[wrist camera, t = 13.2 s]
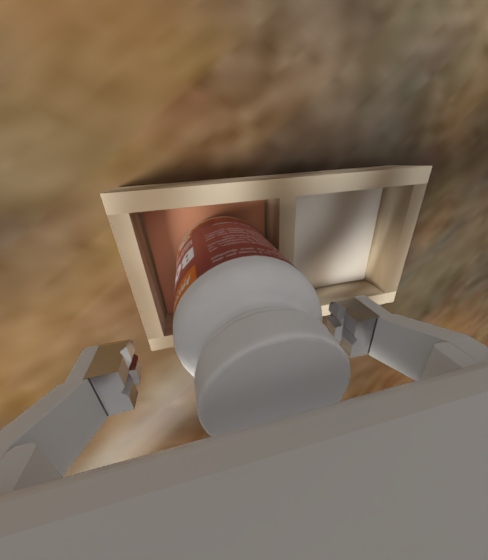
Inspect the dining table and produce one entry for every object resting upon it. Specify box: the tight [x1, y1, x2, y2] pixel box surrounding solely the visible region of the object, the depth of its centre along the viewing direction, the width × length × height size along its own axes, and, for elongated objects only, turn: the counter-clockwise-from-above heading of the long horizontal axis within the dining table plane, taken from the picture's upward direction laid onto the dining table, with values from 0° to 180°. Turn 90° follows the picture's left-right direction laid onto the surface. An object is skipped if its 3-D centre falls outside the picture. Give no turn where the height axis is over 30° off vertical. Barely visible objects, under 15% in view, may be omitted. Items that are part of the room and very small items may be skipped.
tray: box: [100, 165, 432, 351], centre depth 16 cm, size 19×10×4 cm, turn 94°
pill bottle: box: [173, 216, 351, 437], centre depth 11 cm, size 6×6×11 cm
